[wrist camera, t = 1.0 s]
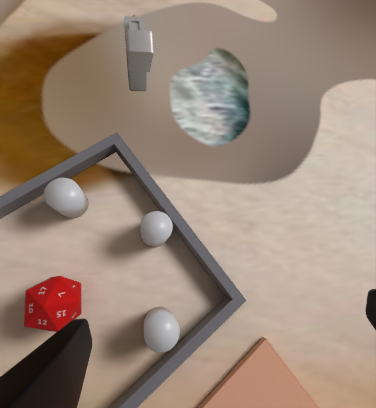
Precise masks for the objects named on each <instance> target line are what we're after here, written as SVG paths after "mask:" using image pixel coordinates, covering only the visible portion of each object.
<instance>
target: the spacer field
mask: <svg viewBox="0 0 376 408" xmlns="http://www.w3.org/2000/svg"><path fill="white" fill-rule="evenodd" d="M115 152H117V154H118V155H119V156H120V158H121V159H122V160H123V162H124V163H125V164H126V166H127V167H128V168H129V170H130V171H131V172H132V173H133V175H134V176H135V177H136V179H137V180H138V181H139V183H140V184H141V185H142V187H143V188H144V189H145V191H146V192H147V193H148V194H149V196H150V197H151V198H152V200H153V201H154V202H155V204H156V205H157V206H158V208H159V209H160V210H161V212H160V211H153V212H150V213H148V214H147V215H145V216H144V218H143V219H142V221H141V225H140V232H141V238H142V240H143V241H144V243H146V244H147V245H149V246H152V247H156V246H160V245H162V244H163V243H164V242H165V241H166V240H167V239H168V238H169V236H170V235H171V233H172V229H173V227H174V229H175V230H176V231H177V233H178V234H179V235H180V237H181V238H182V239H183V240H184V242H185V243H186V244H187V246H188V247H189V248H190V250H191V251H192V252H193V254H194V255H195V256H196V258H197V259H198V260H199V261H200V263H201V264H202V265H203V267H204V268H205V269H206V271H207V272H208V273H209V275H210V276H211V277H212V279H213V280H214V281H215V282H216V284H217V285H218V286H219V288H220V289H221V290H222V292H223V293H224V294H225V296H226V298H225V299H224V300H223V301H222V302H221V303H220V304H219V305H218V306H217V307H216V308H214V309H213V310H212V311H211V312H210V313H209V314H208V315H207V316H206V317H205V318H204V319H203V320H202V321H201V322H200V323H199V324H197V325H196V326H195V327H194V328H193V329H192V330H191V331H190V332H189V333H188V334H187V335H186V336H185V337H184V338H183V339H182V340H180V341H179V342H178V343H177V341H178V339H179V334H180V329H179V325H178V322H177V321H176V319H175V318H174V316H173V315H172V313H171V312H170V311H169V310H168V309H166V308H164V307H156V308H153V309H152V310H150V311H149V312H148V313H147V315H146V316H145V319H144V339H145V342H146V344H147V346H148V347H149V348H150V349H151V350H152V351H154V352H158V353H163V352H167V351H169V350H170V349H171V350H170V351H169V352H168V353H167V354H166V355H165V356H163V357H162V358H161V359H160V360H159V361H158V362H157V363H156V364H155V365H154V366H153V367H152V368H151V369H150V370H149V371H148V372H146V373H145V374H144V375H143V376H142V377H141V378H140V379H139V380H138V381H137V382H136V383H135V384H134V385H133V386H132V387H131V388H129V389H128V390H127V391H126V392H125V393H124V394H123V395H122V396H121V397H120V398H119V399H118V400H117V401H116V402H115V403H114V404H112V405H111V406H110V407H109V408H137V407H138V406H139V405H140V404H141V403H142V402H143V401H144V400H145V399H146V398H147V397H148V396H149V395H151V394H152V393H153V392H154V391H155V390H156V389H157V388H158V387H159V386H160V385H161V384H162V383H163V382H164V381H165V380H166V379H167V378H168V377H169V376H170V375H171V374H172V373H173V372H174V371H175V370H176V369H177V368H178V367H179V366H180V365H181V364H182V363H183V362H184V361H185V360H186V359H187V358H188V357H189V356H190V355H191V354H192V353H193V352H194V351H195V350H196V349H197V348H198V347H199V346H200V345H202V344H203V343H204V342H205V341H206V340H207V339H208V338H209V337H210V336H211V335H212V334H213V333H214V332H215V331H216V330H217V329H218V328H219V327H220V326H221V325H222V324H223V323H224V322H225V321H226V320H227V319H228V318H229V317H230V316H231V315H232V314H233V313H234V312H235V311H236V310H237V309H238V308H239V307H240V306H241V305H242V304H243V303H244V302H245V301H246V299H245V298H244V297H243V295H242V294H241V293H240V292H239V290H238V289H237V288H236V286H235V285H234V284H233V282H232V281H231V280H230V279H229V277H228V276H227V275H226V273H225V272H224V271H223V269H222V268H221V267H220V266H219V264H218V263H217V262H216V260H215V259H214V258H213V257H212V255H211V254H210V253H209V251H208V250H207V249H206V247H205V246H204V245H203V244H202V242H201V241H200V240H199V238H198V237H197V236H196V234H195V233H194V232H193V231H192V229H191V228H190V227H189V225H188V224H187V223H186V221H185V220H184V219H183V218H182V216H181V215H180V214H179V212H178V211H177V210H176V208H175V207H174V206H173V205H172V203H171V202H170V201H169V199H168V198H167V197H166V195H165V194H164V193H163V192H162V190H161V189H160V188H159V186H158V185H157V184H156V182H155V181H154V180H153V179H152V177H151V176H150V175H149V173H148V172H147V171H146V170H145V168H144V167H143V166H142V164H141V163H140V162H139V160H138V159H137V158H136V157H135V155H134V154H133V153H132V151H131V150H130V149H129V147H128V146H127V145H126V144H125V142H124V141H123V140H122V138H121V137H120V136H119V134H118V133H115V134H113V135H111V136H109V137H107V138H106V139H104V140H102V141H101V142H98V143H97V144H95V145H93V146H91V147H89V148H88V149H86V150H84V151H82V152H80V153H78V154H76V155H75V156H73V157H71V158H69V159H67V160H66V161H64V162H62V163H60V164H58V165H56V166H55V167H53V168H51V169H49V170H47V171H46V172H44V173H42V174H40V175H38V176H36V177H35V178H33V179H31V180H29V181H27V182H25V183H24V184H22V185H20V186H18V187H16V188H15V189H13V190H11V191H9V192H7V193H5V194H4V195H2V196H0V219H1V218H2V217H4V216H6V215H7V214H9V213H11V212H13V211H14V210H16V209H18V208H20V207H21V206H23V205H25V204H27V203H28V202H30V201H32V200H33V199H35V198H37V197H39V196H40V195H42V194H44V199H45V201H46V203H47V204H48V205H49V206H50V207H52V208H53V209H55V210H56V211H57V212H59V213H60V214H62V215H63V216H65V217H67V218H77V217H79V216H81V215H83V214H84V213H85V212H86V210H87V208H88V199H87V197H86V195H85V194H84V193H83V191H82V190H81V189H80V187H79V186H78V185H77V184H76V182H74V181H73V180H71V179H70V178H72V177H73V176H75V175H77V174H79V173H80V172H82V171H84V170H85V169H87V168H89V167H91V166H92V165H94V164H96V163H98V162H99V161H101V160H103V159H105V158H106V157H108V156H110V155H111V154H113V153H115ZM176 343H177V344H176ZM175 344H176V345H175Z"/></svg>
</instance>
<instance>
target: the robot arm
mask: <svg viewBox="0 0 376 408" xmlns="http://www.w3.org/2000/svg"><path fill="white" fill-rule="evenodd" d="M366 315H367V318H368V320H369V321H370V323H371V324H372V326H373V327H374V328H375V330H376V289H372V290H370V291H369V292H368V296H367V304H366ZM91 349H92V337H91V333H90V329H89V324H88V321H87V320H86V319H75V320H72V321H70V322H69V323H68V324H66V325H65V326H64V327H63V328H61V329H60V330H59V331H58V332H56V333H55V334H54V335H53V336H51V337H50V338H49V339H48V340H46V341H45V342H44V343H43V344H41V345H40V346H39V347H38V348H36V349H35V350H34V351H33V352H31V353H30V354H29V355H27V356H26V357H25V358H24V359H22V360H21V361H20V362H19V363H17V364H16V365H15V366H14V367H12V368H11V369H10V370H9V371H7V372H6V373H5V374H4V375H2V376H1V377H0V408H77V405H78V402H79V398H80V394H81V390H82V386H83V382H84V378H85V373H86V369H87V365H88V361H89V357H90V353H91Z"/></svg>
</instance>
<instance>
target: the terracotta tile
mask: <svg viewBox="0 0 376 408" xmlns="http://www.w3.org/2000/svg"><path fill="white" fill-rule="evenodd" d="M197 408H319V407H318V406H317V404H316V403H315V402H314V400H313V399H312V398H311V396H310V395H309V394H308V393H307V391H306V390H305V389H304V387H303V386H302V385H301V383H300V382H299V381H298V379H297V378H296V377H295V376H294V374H293V373H292V372H291V370H290V369H289V368H288V366H287V365H286V364H285V363H284V361H283V360H282V359H281V357H280V356H279V355H278V353H277V352H276V351H275V349H274V348H273V347H272V346H271V344H270V343H269V342H268V340H267V339H266V338H264V337H262V338H261V340H260V341H259V342H258V343H257V344H256V345H255V346H254V347H253V348H252V349H251V350H250V351H249V352H248V354H247V355H246V356H245V357H244V358H243V359H242V360H241V361H240V362H239V363H238V364H237V365H236V366H235V368H234V369H233V370H232V371H231V372H230V373H229V374H228V375H227V376H226V377H225V378H224V379H223V380H222V382H221V383H220V384H219V385H218V386H217V387H216V388H215V389H214V390H213V391H212V392H211V393H210V395H209V396H208V397H207V398H206V399H205V400H204V401H203V402H202V403H201V404H200V405H199V406H198V407H197Z"/></svg>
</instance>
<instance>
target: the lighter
mask: <svg viewBox="0 0 376 408" xmlns="http://www.w3.org/2000/svg"><path fill="white" fill-rule="evenodd" d="M124 26H125V41H126V54H127V67H128V78H129V87H130V90H131V91H146V90H147V73H148V72H149V71H150V67H151V62H152V58H153V40H152V32H151V31H145V23H144V19H143V18H142V17H136V16H135V15H134V16H133V17H129V16H125V17H124Z"/></svg>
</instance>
